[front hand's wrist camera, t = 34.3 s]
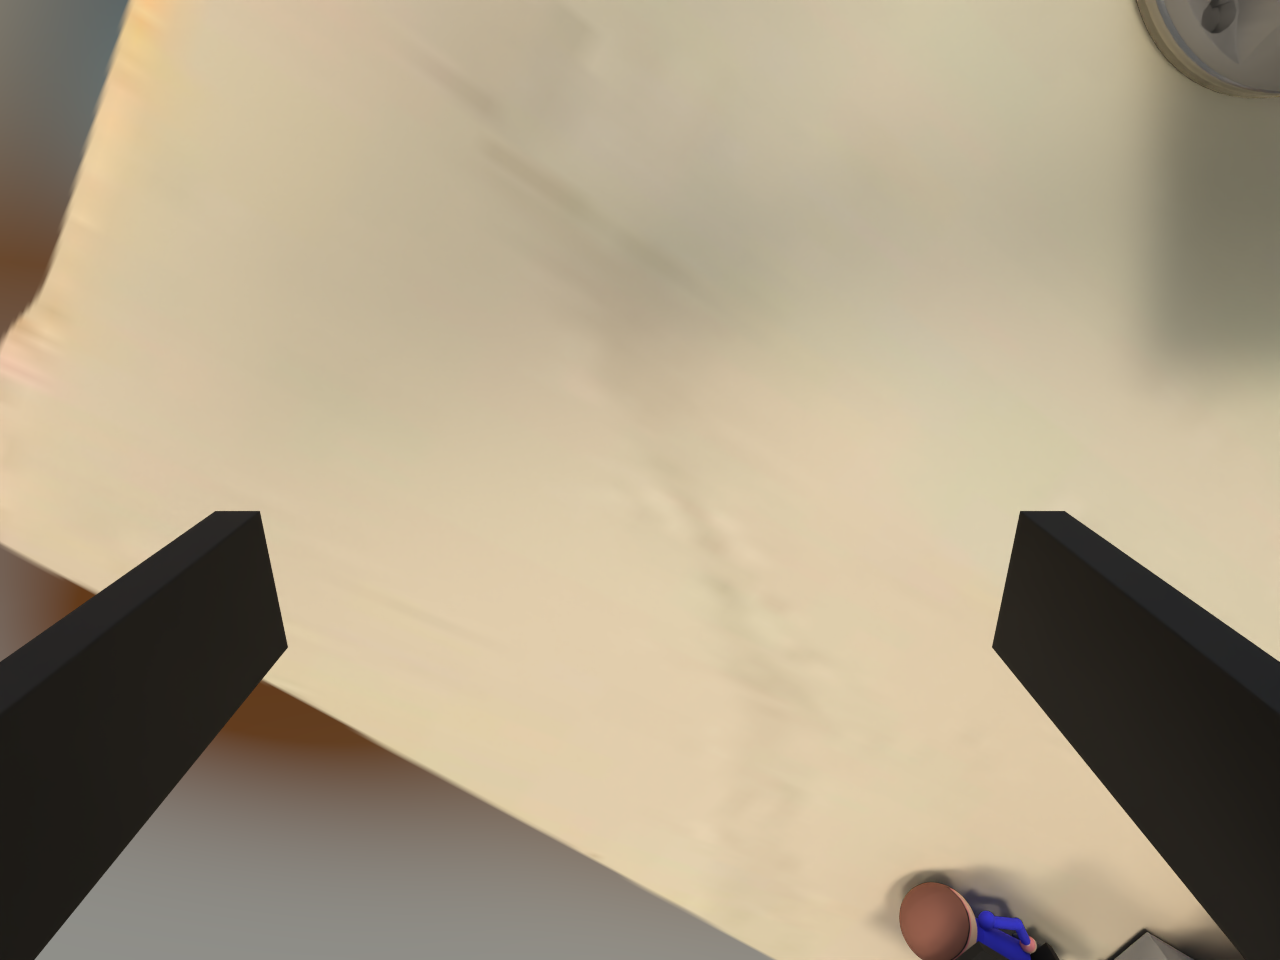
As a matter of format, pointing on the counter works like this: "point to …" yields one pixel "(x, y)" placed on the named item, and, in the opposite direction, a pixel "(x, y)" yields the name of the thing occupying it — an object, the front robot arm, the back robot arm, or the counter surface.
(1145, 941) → the record crate
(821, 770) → the counter surface
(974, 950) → the figurine character
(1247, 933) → the front robot arm
